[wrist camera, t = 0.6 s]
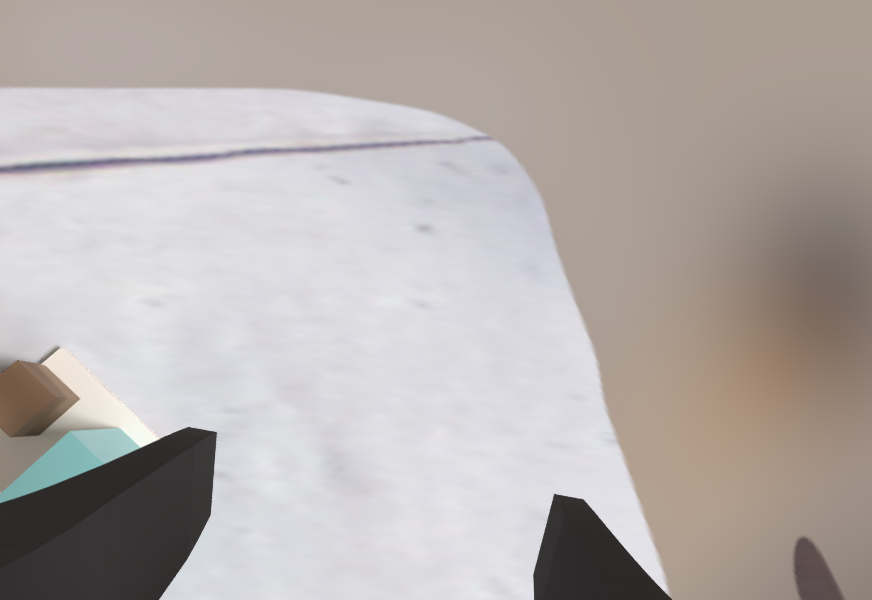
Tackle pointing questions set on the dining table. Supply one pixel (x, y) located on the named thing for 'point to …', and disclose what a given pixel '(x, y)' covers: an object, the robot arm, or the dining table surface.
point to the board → (71, 418)
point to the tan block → (31, 399)
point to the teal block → (71, 459)
